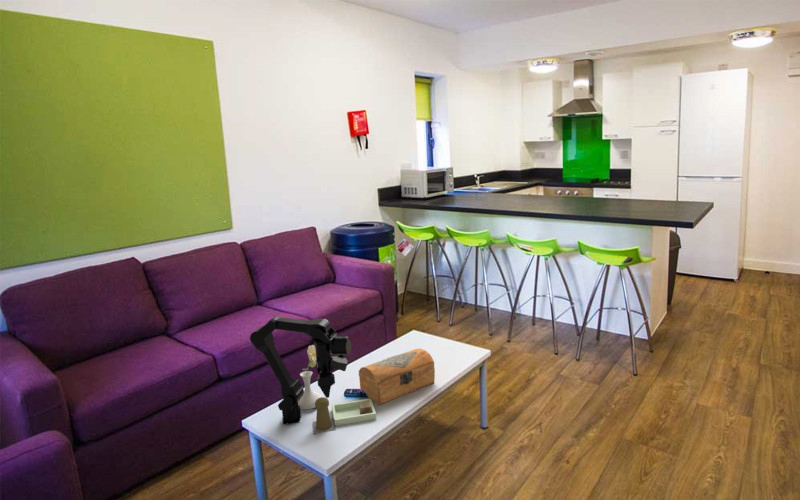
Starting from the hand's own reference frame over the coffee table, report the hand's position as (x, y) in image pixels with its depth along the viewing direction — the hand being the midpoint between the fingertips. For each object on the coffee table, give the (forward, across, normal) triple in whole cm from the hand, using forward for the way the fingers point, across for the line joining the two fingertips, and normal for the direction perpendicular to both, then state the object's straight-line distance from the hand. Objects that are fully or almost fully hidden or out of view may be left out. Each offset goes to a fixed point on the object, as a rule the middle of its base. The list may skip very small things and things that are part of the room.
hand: (326, 391), depth 191 cm
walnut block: (+13, +2, -14) cm, 19 cm away
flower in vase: (+13, +17, +7) cm, 22 cm away
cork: (+13, -2, +2) cm, 13 cm away
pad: (+13, -2, +2) cm, 13 cm away
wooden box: (+14, +20, -31) cm, 39 cm away
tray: (+13, +3, -10) cm, 17 cm away
